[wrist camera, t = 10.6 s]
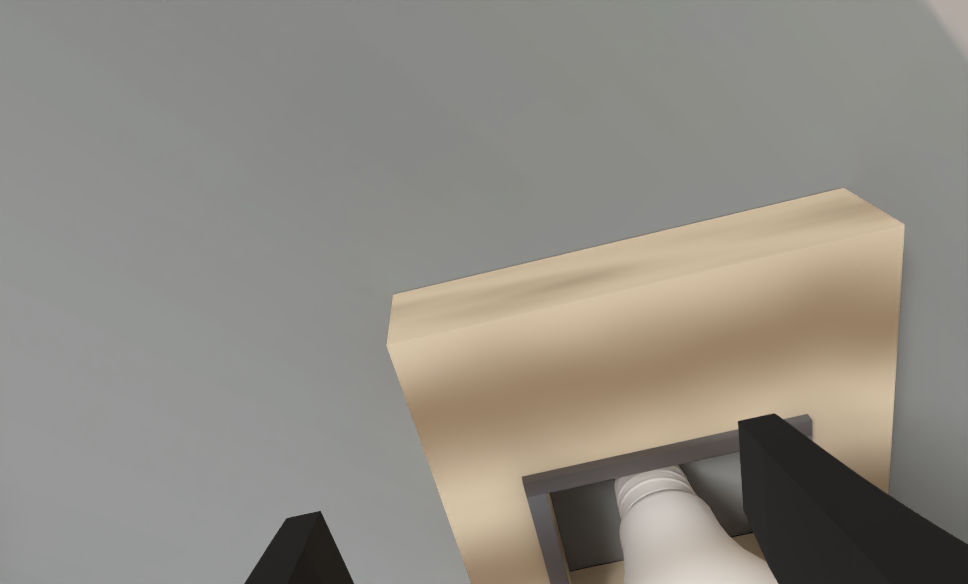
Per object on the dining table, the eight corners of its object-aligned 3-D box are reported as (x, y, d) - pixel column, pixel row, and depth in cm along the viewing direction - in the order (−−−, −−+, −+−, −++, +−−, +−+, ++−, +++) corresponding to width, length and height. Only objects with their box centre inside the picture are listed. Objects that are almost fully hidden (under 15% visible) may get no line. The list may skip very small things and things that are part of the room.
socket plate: (837, 616, 29) (881, 690, 27) (523, 680, 30) (532, 759, 27) (843, 187, 20) (911, 228, 17) (393, 294, 21) (386, 351, 18)
